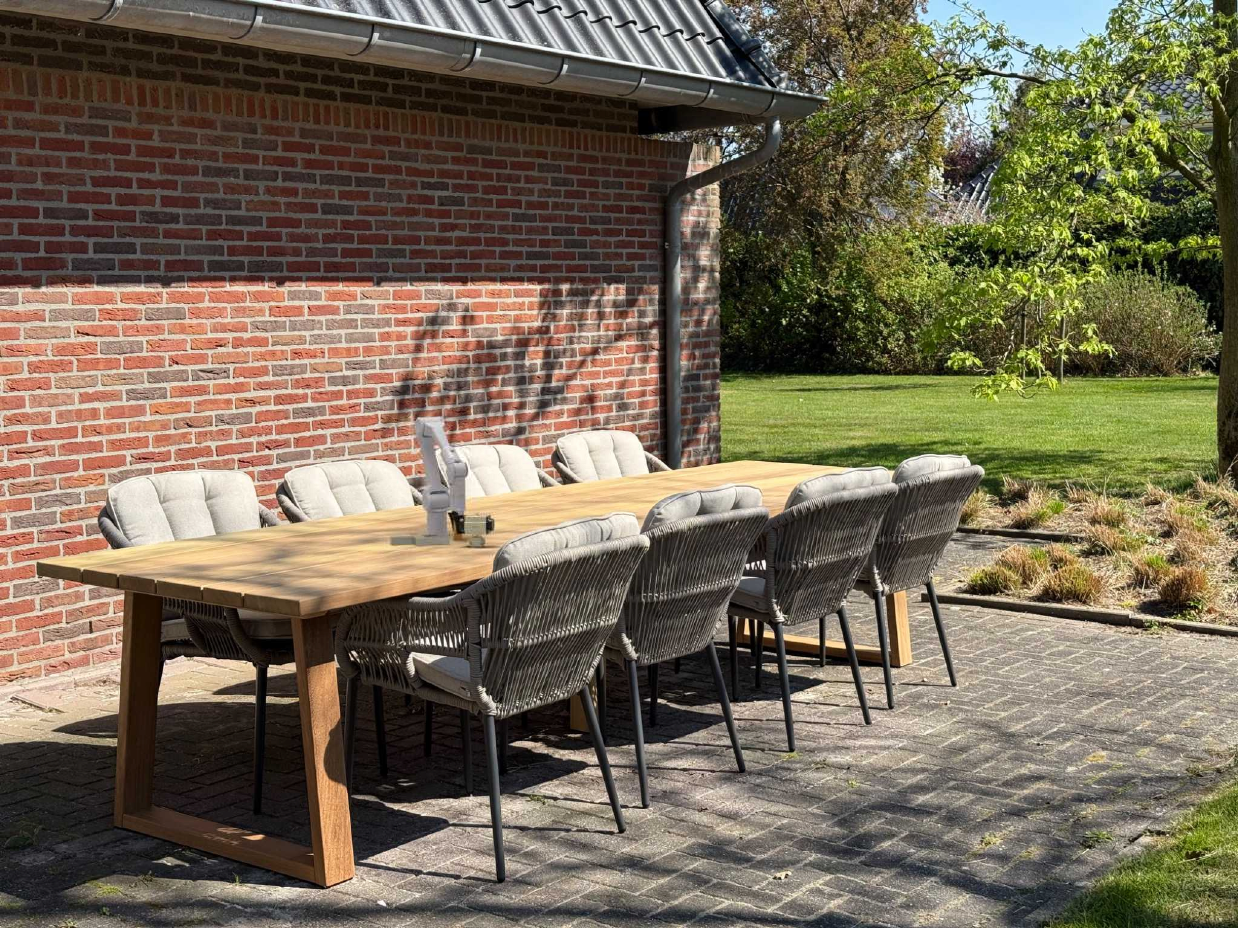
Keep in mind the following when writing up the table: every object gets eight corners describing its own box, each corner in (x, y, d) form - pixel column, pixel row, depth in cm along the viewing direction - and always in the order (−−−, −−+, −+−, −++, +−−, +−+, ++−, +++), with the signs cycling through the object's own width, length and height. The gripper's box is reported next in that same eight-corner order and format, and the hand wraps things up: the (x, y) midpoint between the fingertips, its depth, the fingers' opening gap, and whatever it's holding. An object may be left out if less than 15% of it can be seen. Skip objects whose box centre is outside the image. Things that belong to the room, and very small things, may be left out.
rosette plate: (388, 542, 534) (388, 535, 534) (443, 539, 540) (443, 532, 540) (393, 546, 523) (393, 539, 523) (449, 544, 529) (449, 537, 529)
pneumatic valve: (462, 545, 526) (462, 511, 525) (495, 545, 525) (494, 512, 523) (458, 547, 521) (458, 513, 520) (491, 548, 519) (491, 513, 518)
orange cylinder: (453, 539, 541) (452, 520, 541) (461, 539, 542) (461, 519, 542) (454, 540, 538) (454, 521, 538) (462, 540, 539) (462, 520, 539)
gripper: (442, 493, 545) (443, 530, 546) (450, 497, 531) (450, 535, 532) (461, 493, 547) (462, 529, 548) (469, 497, 533) (470, 534, 534)
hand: (458, 532), depth 540 cm, fingers open, 7 cm apart
